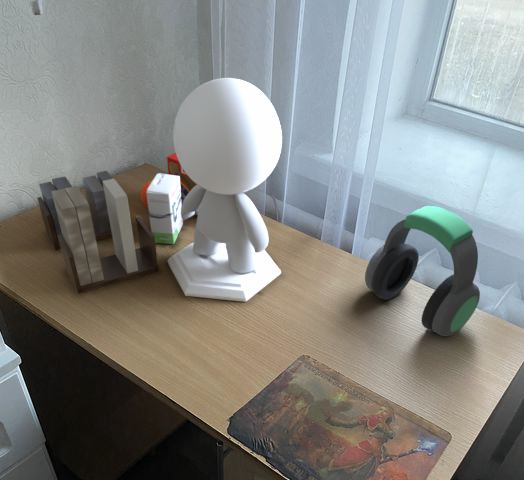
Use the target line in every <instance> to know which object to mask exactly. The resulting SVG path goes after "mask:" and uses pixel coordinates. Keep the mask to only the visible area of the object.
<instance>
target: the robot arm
mask: <svg viewBox="0 0 524 480" xmlns="http://www.w3.org/2000/svg"><path fill="white" fill-rule="evenodd" d="M43 1H44V0H32V1H30V6H31V11H32V15H34V16H41V15H42V16H43V15H44V10H43V4H42V3H43Z"/></svg>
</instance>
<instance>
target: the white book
mask: <svg viewBox="0 0 524 480" xmlns="http://www.w3.org/2000/svg"><path fill="white" fill-rule="evenodd" d="M103 187H104V192H105V198H106V204H107V209H108V215H109V220H110V226H111V231H112V242H113V248H114V254H116V256H117V258H118V259H119V261H120V263H121V264H122V266H123V267H124V269H125V270H126V272H127V273H131V272H135V271H138V266H137V259H136V252H135V249H136V247H135V239H134V231H133V226H132V225H133V224H132V219H131V212H130V205H129V200H128V198H129V197H128V195H127V192H125V191H124V190H123V188H122V187H121V186H120V184H119V182H118V181H117V180H116V179H115V178H113V179H110V180H105V181H103Z"/></svg>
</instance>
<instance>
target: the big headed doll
mask: <svg viewBox="0 0 524 480" xmlns="http://www.w3.org/2000/svg"><path fill="white" fill-rule="evenodd" d="M172 139H173V141H172V142H173V147H174V153H176V155H177V158H178V160H179V163H180V164H181V166H182V168H183V170H184V171H185V172H186V174H187V175H188V176H189V177H190V178H191V179H192V180H193V181H194V182H195V183H197V185H196V186H195V187H194V188H193V189H192V190H191V191H190V192H189V193H188V195H187V196H186V197H185V199H184V201H183V203H182V207H181V217H182V219H183V221H185V220H188V219H189V218H191V217H193V216H195V211H196V214H197V215H198V216H197V215H196V216H197V217H196V223H195V228H194V237H193V242H191V243H189V244H187V246H185V247H183V248H182V249H180V250H179V251H177V252H175V253H173V254H172V255H171V256H170V257H169V258H168V259H167V264H168V266H169V268H170V270H171V271H172V273H173V275H174V278H175V280H176V281H177V283H178V285H179V286H180V288H181V290H182V292H183V294H184V296H185V297H194V298H204V299H212V300H213V299H215V300H224V301H225V300H226V301H234V302H242V303H243V302H244V303H245V302H247V301H249V300H250V299H252V298H253V297H254V296H256V294H257V293H258V292H260V291H261V290H263V289H264V288H265V287H266V286H268V285H269V284H270V283H271V282H272V281H274V280H276V278H278V277H279V276H280V275H281V274H282V271H281V269H280V268H279V266H278V265H277V264H276V263H275V261H274V260H273V259H272V257H271V255H270V254H269V253H268V252H267V251H266V249H267V247H268V245H269V232H268V228H267V226H266V223H265V221H264V219H263V217H262V216H261V214H260V212H259V210H258V209H257V207H256V205H255V204H254V203H253V201H252V200H251V199H250V197H248V195H246V194H245V193H246V192H249V191H251V190H253V189H255V188H256V187H258V186H260V185H261V184H262V183H263V182H264V181H265V180H266V179H267V178H268V177H269V176H270V175H271V174H272V172H273V171H274V170H275V168H276V166H277V164H278V162H279V159H280V156H281V153H282V146H283V133H282V127H281V123H280V119H279V116H278V114H277V111H276V109H275V107H274V105H273V103H272V102H271V100H270V99H269V98H268V97H267V95H265V93H264V92H263V91H262V90H260V88H258V87H257V86H255V85H254V84H252V83H250V82H248V81H247V80H243V79H239V78H236V77H235V78H234V77H220V78H215V79H211V80H209V81H205V82H203V83H202V84H200V85H199V86H197V87H196V88H194V89H193V90H192V91H191V92H190V93H188V95H187V96H186V97H185V98H184V100H183V101H182V103H181V105H180V106H179V108H178V111H177V113H176V115H175V119H174V123H173V131H172Z"/></svg>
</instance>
